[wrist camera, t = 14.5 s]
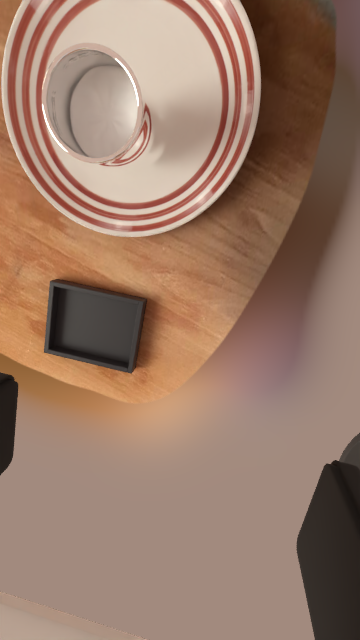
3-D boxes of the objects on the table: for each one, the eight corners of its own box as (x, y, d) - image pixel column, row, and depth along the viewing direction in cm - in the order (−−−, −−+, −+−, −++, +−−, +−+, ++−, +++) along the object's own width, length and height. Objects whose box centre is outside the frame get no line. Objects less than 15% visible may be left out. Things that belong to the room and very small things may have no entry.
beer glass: (179, 105, 34) (155, 54, 20) (164, 178, 36) (135, 178, 23) (111, 88, 34) (41, 24, 20) (102, 162, 36) (34, 152, 23)
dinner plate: (293, 178, 37) (299, 173, 34) (81, 270, 43) (70, 273, 40) (201, -105, 32) (199, -142, 29) (-23, 44, 38) (-46, 27, 35)
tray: (147, 298, 43) (143, 301, 41) (135, 368, 46) (131, 373, 44) (56, 278, 44) (49, 280, 42) (50, 348, 47) (43, 352, 45)
